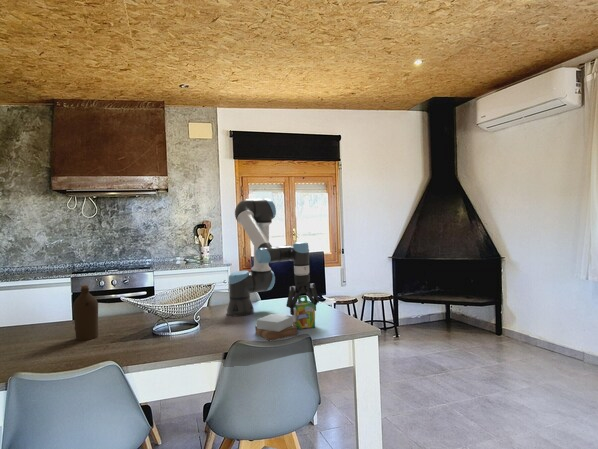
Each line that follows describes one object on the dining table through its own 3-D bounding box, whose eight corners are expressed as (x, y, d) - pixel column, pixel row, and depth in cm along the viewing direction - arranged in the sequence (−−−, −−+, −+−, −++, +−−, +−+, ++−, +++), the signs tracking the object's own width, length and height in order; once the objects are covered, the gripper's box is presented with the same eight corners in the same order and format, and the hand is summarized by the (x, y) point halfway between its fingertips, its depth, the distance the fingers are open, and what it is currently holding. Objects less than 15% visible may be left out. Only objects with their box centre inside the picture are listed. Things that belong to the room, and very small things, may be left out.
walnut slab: (255, 334, 186) (255, 326, 186) (281, 329, 194) (281, 321, 194) (269, 342, 174) (268, 333, 174) (296, 336, 182) (296, 327, 182)
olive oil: (104, 335, 193) (102, 283, 192) (85, 342, 183) (82, 287, 183) (89, 333, 197) (86, 283, 197) (69, 340, 188) (66, 286, 187)
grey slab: (257, 328, 182) (256, 319, 182) (272, 322, 192) (271, 313, 192) (278, 331, 176) (278, 322, 176) (293, 324, 186) (293, 316, 186)
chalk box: (297, 329, 190) (296, 298, 189) (292, 324, 199) (291, 295, 198) (316, 327, 192) (314, 296, 192) (310, 322, 201) (308, 293, 201)
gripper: (285, 277, 186) (287, 325, 186) (325, 272, 197) (327, 317, 198) (277, 275, 192) (279, 321, 193) (317, 270, 204) (318, 314, 204)
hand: (303, 319), depth 195 cm, fingers closed on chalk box, 10 cm apart
